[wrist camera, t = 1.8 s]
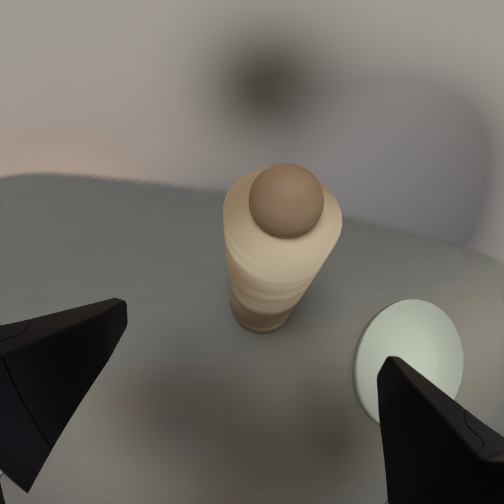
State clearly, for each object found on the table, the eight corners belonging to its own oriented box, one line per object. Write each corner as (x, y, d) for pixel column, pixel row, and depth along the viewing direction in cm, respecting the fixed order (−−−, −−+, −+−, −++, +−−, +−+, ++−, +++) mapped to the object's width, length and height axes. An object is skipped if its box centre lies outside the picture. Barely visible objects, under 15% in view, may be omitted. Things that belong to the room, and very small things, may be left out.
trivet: (471, 372, 18) (477, 371, 17) (391, 455, 15) (397, 458, 14) (418, 280, 22) (424, 276, 21) (326, 350, 19) (330, 348, 18)
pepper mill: (300, 315, 20) (385, 203, 8) (249, 344, 19) (267, 263, 7) (271, 268, 22) (306, 121, 10) (220, 293, 21) (198, 154, 9)
